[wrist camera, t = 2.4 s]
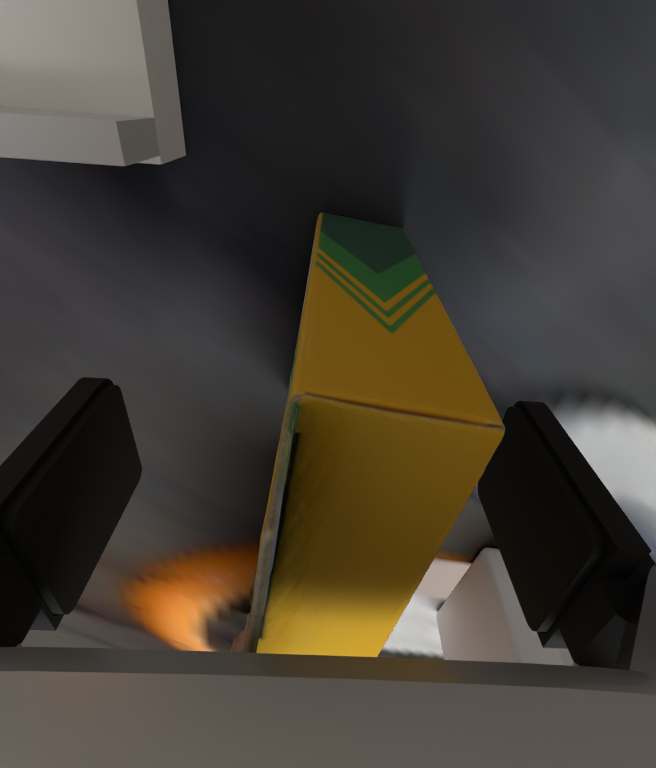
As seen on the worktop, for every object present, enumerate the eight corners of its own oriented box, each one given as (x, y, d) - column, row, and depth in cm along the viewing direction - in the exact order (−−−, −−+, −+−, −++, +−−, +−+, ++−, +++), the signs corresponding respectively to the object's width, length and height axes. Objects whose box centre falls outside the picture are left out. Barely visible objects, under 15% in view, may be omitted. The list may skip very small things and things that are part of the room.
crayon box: (359, 405, 17) (379, 788, 8) (288, 393, 17) (218, 774, 7) (411, 227, 13) (596, 578, 3) (318, 208, 13) (246, 530, 3)
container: (544, 627, 27) (673, 966, 17) (433, 612, 27) (493, 954, 16) (613, 563, 23) (846, 966, 12) (482, 543, 22) (608, 951, 12)
